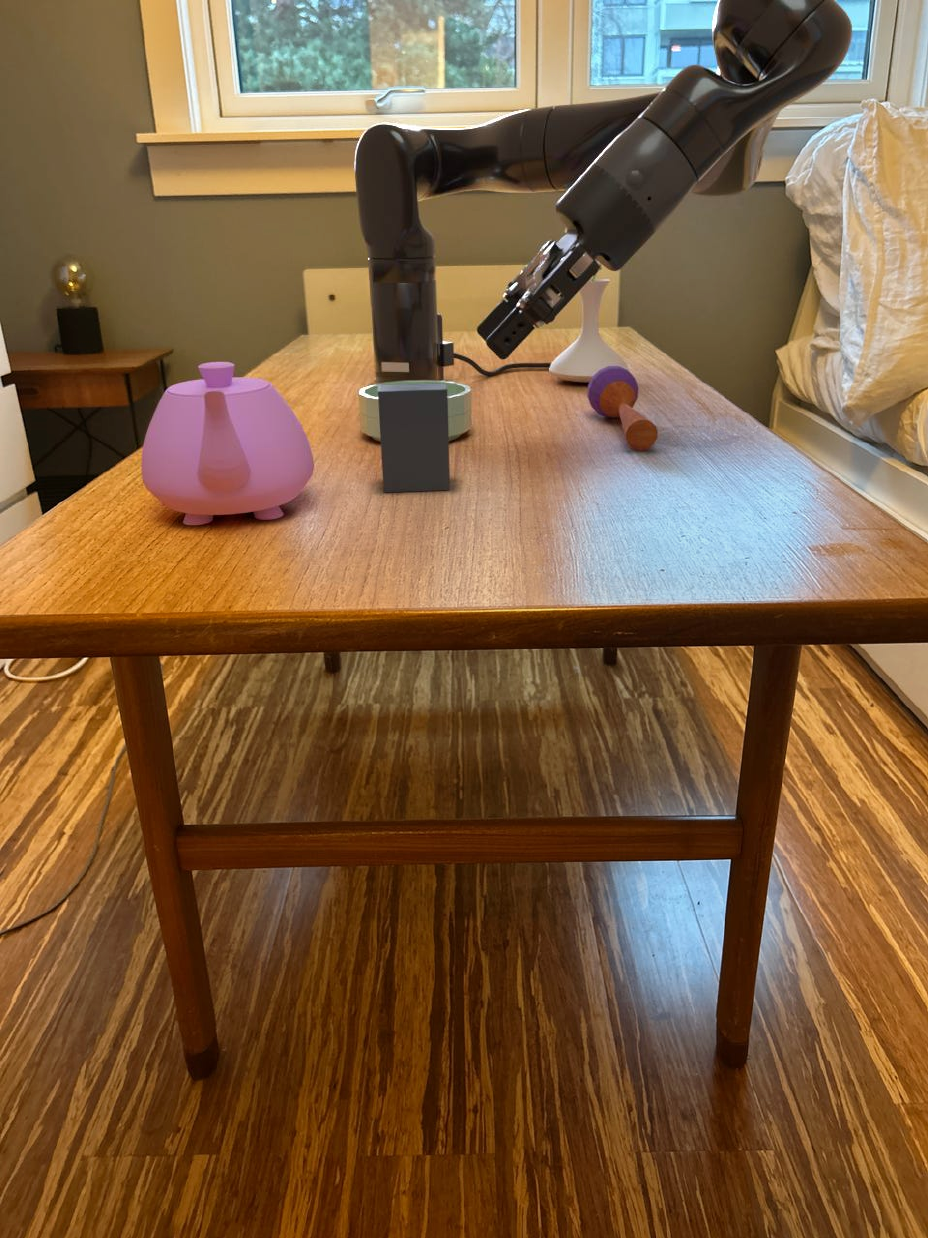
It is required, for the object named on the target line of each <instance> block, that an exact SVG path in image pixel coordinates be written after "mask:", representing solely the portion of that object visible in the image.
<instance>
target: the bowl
mask: <svg viewBox="0 0 928 1238" xmlns="http://www.w3.org/2000/svg"><path fill="white" fill-rule="evenodd" d="M444 383H445V384H446V387H447V394H448V434H449V442H451V441H453V440H456V439H458V438H460V437H461V436H462V434H465V433H466V432H468V431H470V430H471V429H472V428H473V416H472V414H473V412H472V407H473V406H472V404H473V403H472V388H471V386H469V385H467V384H464V383H461V382H456V381H449V380H444V381H437V380H406V381H395V382H385V383H380V384H375V383H374V384H370V385H368V386H365V387H362V388H360V389H359V391H358V408H359V423H360V432H362V433H363V434H365V435H367V436H369V437H371V438H372V439H373V440H374V441H376V442H379V443H381V438H380V421H379V403H378V386H380V385H412V384H444Z"/></svg>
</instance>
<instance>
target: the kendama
mask: <svg viewBox="0 0 928 1238" xmlns="http://www.w3.org/2000/svg"><path fill="white" fill-rule="evenodd" d="M586 393H587V394H586V396H587V399H588V402H589V405H590V407H591V408H592V409H593V411H595V413H596V414H598V415H599V416H601V417H604V418H607V419H609V418H611V419H612V418H613V419H614V418H620V421H621V425H622V430H623V434H624V439H625V442H626V444H627V446H628V448H630V449H631V450H634V451H636V452H643V451H647V450H649V449H651V448H652V447H653V446H654V445H655V444H656V442H657V440H658V434H659V431H658V428H657V426H656V425H655V424H654V422H652V420H650V419H648V418H647V417H646V416H644V415H643V414H641V413H640V412H638V411H637V410H636V409H634V406H635V404H636V402H637V400H638V398H639V385H638V382H637V379H636V377H634V375H633V374H632V373H631V372H630V371H629V369H628V370H627V369H625V368H622V367H620V366H608V367H605V368H603V369H601V370H599V371H598V372H597V373H596V374H595V375H594V376H593V377H592V378H591V381H590V383H588V385H587V392H586Z"/></svg>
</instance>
